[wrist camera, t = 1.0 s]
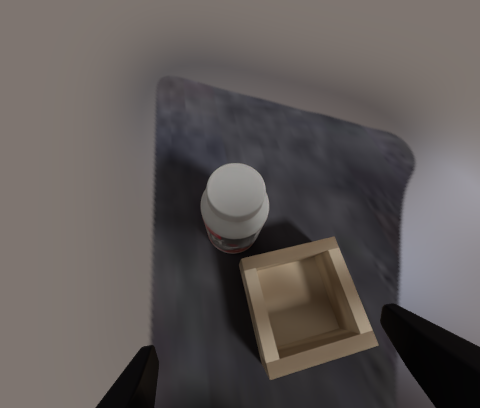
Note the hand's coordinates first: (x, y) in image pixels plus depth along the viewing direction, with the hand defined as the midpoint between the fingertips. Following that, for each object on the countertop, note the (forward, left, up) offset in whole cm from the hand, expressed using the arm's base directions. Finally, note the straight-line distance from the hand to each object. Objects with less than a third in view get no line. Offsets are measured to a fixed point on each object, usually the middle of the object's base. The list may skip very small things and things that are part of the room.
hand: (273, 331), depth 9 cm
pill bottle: (+8, -1, -13) cm, 16 cm away
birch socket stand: (0, -5, -13) cm, 14 cm away
